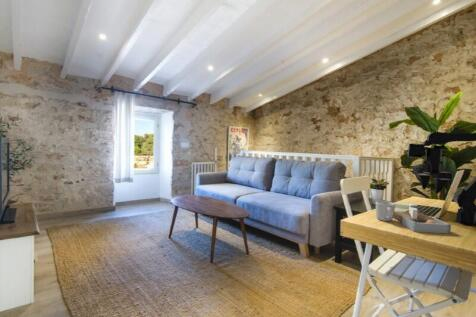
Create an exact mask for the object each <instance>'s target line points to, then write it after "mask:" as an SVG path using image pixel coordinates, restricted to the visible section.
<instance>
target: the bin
mask: <svg viewBox="0 0 476 317" xmlns="http://www.w3.org/2000/svg"><path fill="white" fill-rule="evenodd" d="M432 218H433V217H432ZM433 221H435V222H436V223H416V222H414V221H412V220H410V219H408V218H406V217H402V223H401V225H402V226H403V227H405V228H407V229H409V230H410V231H412V232H414V233H415V232H416V233H433V234H434V233H435V234H451V228H452V225H451V224H450V223H447V222H445V221H443V220H441V219H438V218H435V217H434V218H433Z"/></svg>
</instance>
